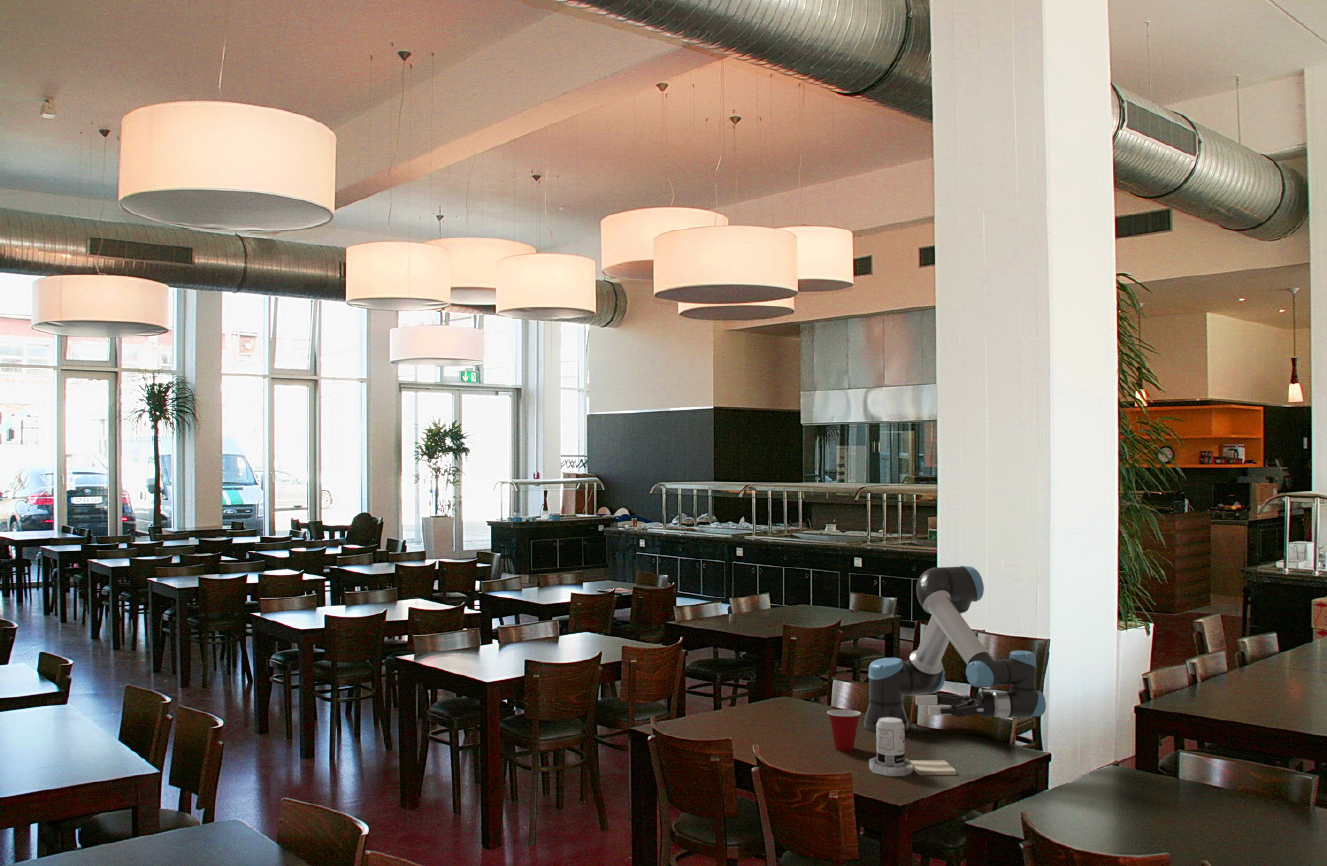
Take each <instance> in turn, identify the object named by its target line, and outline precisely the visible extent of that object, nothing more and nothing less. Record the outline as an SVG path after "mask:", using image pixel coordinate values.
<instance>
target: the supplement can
mask: <svg viewBox="0 0 1327 866" xmlns="http://www.w3.org/2000/svg"><path fill="white" fill-rule="evenodd" d="M905 732H906V731H905V730H904V724H903V722H902V719H899V718H895V717H882V718H879V719H878V722H877V724H876V732H875V733H876V757H877V764H878V765H883V766H887V767H901V766H904V765H905V758H906V756H905V755H906V753H905V752H906V751H905V750H906V749H905V748H906V747H905V746H906V745H905V743H906V741H905V740H906V739H905V737H906V736H905Z"/></svg>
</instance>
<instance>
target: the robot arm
mask: <svg viewBox="0 0 1327 866" xmlns="http://www.w3.org/2000/svg"><path fill="white" fill-rule="evenodd" d="M915 589H916V591H915V592H916V593H915V594H916V597H917V600H918V603H919V604H920V606H921V607H922V609H923V610H924V612H925V613H928V614H930V615H931V616H930V619H929V621H928V624H927V625H926V628H925V630H924V633H923V636H922V638H921V640H920V643H919V645H918V647H917V649H916V650H913V651H912V652H911V653H910V656H909V658H908V660H907V661H903V659H901V658H898V657H883V658H878V659H875V660H873V661H871V662H870V664H869V665H868V674H867V675H868V707H867V709H866V713H865V717H864V719H863V720H864V721H863V725H864V726H863V728H865V729H866V730H868V731H871V732H875V733H876V724H877V722H878V719H879V718H882V717H895V718H899V719H902V722H903V724H904V730H905V732H907V731H908V730H909V719H908V718H907V714H906V711H905V707H904V697H907V696H908V697H909V696H915V705H916V706H928V716H953V717H954V716H955V717H956V718H962V717H963V718H964V717H967V716H968V717H969V716H975V715H978V716H979V717H981V718H993V717H994V718H999V719H1004V718H1009V717H1010V718H1011V717H1014V718H1015V717H1017V718H1018V717H1019V718H1022V717H1023V718H1026V717H1027V718H1030V717H1032V718H1033V717H1040V716H1041V717H1042V716H1043V715H1044V714H1045V712H1046V708H1047V703H1046V697H1045V695H1044V693H1043V692H1042V691H1040V690H1038V689H1037V658H1036V655H1035V653H1034V652H1032V651H1029V650H1018V649H1017V650H1012V651H1010V652H1009V656H1008V658H1003V659H994V658H993V657H992V656H991V654H990V653H989V652H988V651H987V649H986V647H985V646H984V645H983V644H982V642H981V641H980V639H979V637H978V636H977V635H976V634H975V632H974V631H973V630H972V628H971V627H970V625H969V624H968V623H967V622H966V620H965V619H964V617H963V615H962V614H964V613H966V612H968V610H969V608H970V606H971V604H972V603H973V602H978V601H980V600H981V599H983V596H984V591H985V586H984V582H983V578H982V575H981V573H980V572H979V571H978V570H977V569H976V568H975V567H973V566H967V565H965V566H964V565H960V566H944V567H943V566H942V567H939V566H938V567H936V566H935V567H931V568H929V569H927V570H925V571H923V572H922V573H921V575H920V576H919V578H918V580H917V582H916V588H915ZM949 642H950V644H951V645H952V646H953V647H954V649H955V651H956V652H957V653H958V654H959V656H960V658H961V659H962V660H963V661H964V663H965V665H966V668H965V676H966V678H967V681H968V683H969V684H970V686H972V687H975V688H989V687H998V686H999V687H1000V686H1008V685H1009V689H1010V690H1007V691H1005V690H997V691H996V690H995V691H993V690H992V691H991V692H990V691H978V692H977V693H976V696H975V697H974V698H972V696H970V695H968V694H967V695H960V694H959V695H958V694H946V693H939V691H941V689H942V688H943V687H944V685H945V681H946V677H945V675H946V671H945V669H944V665H943V663H942V660H943V657H944V654H945V652H946V650H947V647H948V645H949ZM937 692H938V693H937ZM935 693H936V695H932V694H935Z"/></svg>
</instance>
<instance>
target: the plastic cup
mask: <svg viewBox="0 0 1327 866" xmlns="http://www.w3.org/2000/svg"><path fill="white" fill-rule="evenodd" d="M826 713H827V715H828V718H829V722H830V728H831V732H832V739H833V743H834V749H835V750H837V751H841V752H851V751H853V750H854V747H855V740H856V737H857V736H856V735H857V729H858V725H859V724H858V723H859V718H860V715H861V714H862V712H860V711H858V710H853V709H852V710H851V709H831V710H828V711H826Z"/></svg>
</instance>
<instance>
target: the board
mask: <svg viewBox="0 0 1327 866" xmlns="http://www.w3.org/2000/svg"><path fill="white" fill-rule="evenodd" d="M909 760H910V759H909ZM910 761H911V762H912V763H913V771H915V773H916V774H917V775H919V776H956V775H957V770H956V769H955V768H954V767H953V766H951V764H949V763H948V762H947V761H946V760H945V759H921V760H920V759H919V760H917V759H913V760H910Z"/></svg>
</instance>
